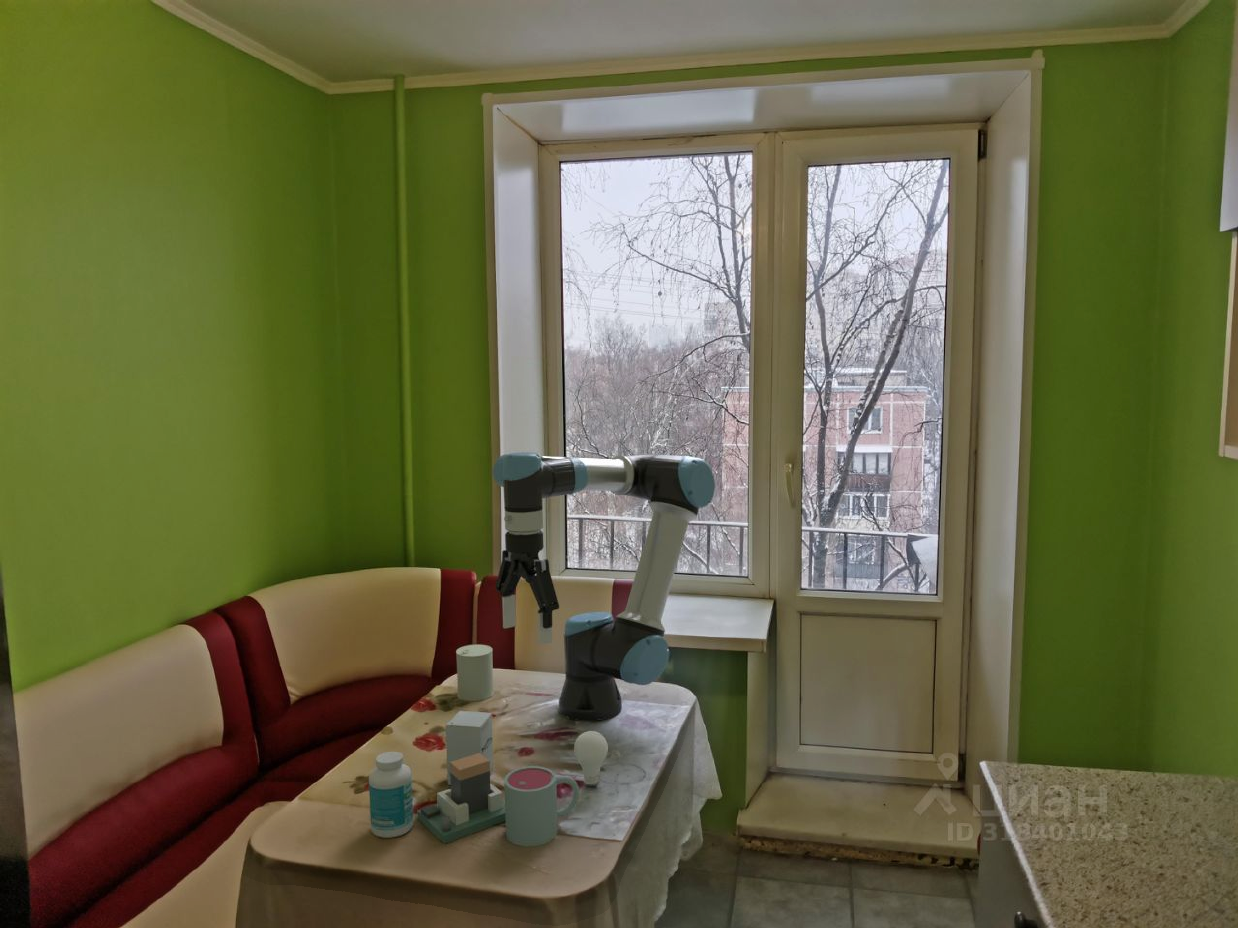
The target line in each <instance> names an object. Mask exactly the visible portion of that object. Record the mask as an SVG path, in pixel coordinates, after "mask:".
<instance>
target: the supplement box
mask: <svg viewBox="0 0 1238 928" xmlns="http://www.w3.org/2000/svg"><path fill="white" fill-rule="evenodd" d="M445 738H446V739H445V740H446V741H445V745H446V771H447V772H446V775H447V776H446V777H447V785H448V786H451V775H450V762H452V761H455V760H458V759H462V758H465V757H468V756H471V755H474V754H478V753H480V754H482V755H483V756H484V757H485V758H487V759H488V760H489V761H490V775H491V774H492V773H493V772H494V744H493V742H494V741H493V739H494V738H493V713H492V712H484V711H483V712H482V711H466V710H465V711H464V710H459V711H458V712H457V713H456V714H455V715H454V716H453V717H452V718H451V719H450V720H449V721H448V722H447V723H446V724H445Z"/></svg>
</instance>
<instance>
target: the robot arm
mask: <svg viewBox="0 0 1238 928" xmlns="http://www.w3.org/2000/svg"><path fill="white" fill-rule="evenodd" d="M712 470H713V469H712V467H710V465H709V463H707V462H706V460H704V459H702V458H700V457H695V456H694V457H693V456H690V455H675V454H674V455H673V454H660V453H645V454H633V455H632V454H631V455H616V456H613V457H612V458H610V459H609V458H595V457H594V458H591V457H590V458H589V457H578V456H577V457H576V456H573V457H571V456H569V457H568V456H548V455H541V454H540V453H538V452H531V451H530V452H529V451H527V452H526V451H525V452H524V451H522V452H511V453H506V454H505V453H504V454H503V455H500V456H499V457H498V458H497V459H496V461H495V462H494V463H493V469H492V475H493V478H494V479H493V480H494V481H495V483H496V484H497V485H498V486H500V487H502V488H503V500H504V501H503V502H504V507H503V508H504V518H503V520H504V527H505V528H504V529H505V530H506V532H505V534H504V540H505V547H504V548H505V549H503V550H502V551H501V553H502V554H501V555H502V556H501V563H500V566H499V567H500V568H499V571H498V576H497V580H496V583H495V591H496V592H499V595H500V596H501V603H502V606H501V607H502V628H503V629H509V628H513V627H517V608H516V606H517V604H516V598H517V597H516V595H515V594H516V591H515V589H516V588H517V585H518V583H519V582H520V580H521V578H522V579H524V580H525V582H526V583H528V584H529V586H530V588H531V589H530V590H531V592H532V593H533V596H534V598H535V601H536V604H537V606H538V607H539V609H538V611H537V630H538V631H537V633H538V634H537V635H538V636H537V639H538V645H539V646H542V645H546V644H550V643H553V611H555V610H559V609H560V604H559V603H560V602H559V600H558V597H557V594H556V593H557V592H556V589H555V586H554V582H553V579H552V574H551V572H550V563H549V559H548V558H547V559H540V556H539V553H540V552H541V551H543V549H544V532H543V531H542V529H543V528H544V515H543V511H544V509H543V507H544V505H543V502H544V501H543V500H544V499H546V498H552V497H557V496H559V497H561V496H565V495H567V496H568V495H569V496H570V495H573V494H576V493H580V492H582V491H591V492H592V491H598V492H599V491H603V492H604V491H605V492H610V493H612V494H614V495H617V496H626V497H627V496H629V497H633V498H638V499H642V500H645V501H649V505H648V506H650V509H651V510H652V517H651V520H650V523H649V527H648V530H647V534H646V537H645V541H644V545H643V548H642V551H641V554H640V555H641V556H640V558H639V562H638V564H637V565H638V566H637V569H636V571H635V576H634V579H633V582H632V584H631V585H632V586H631V589H630V593H629V595H628V600H627V604H626V606H625V609H624V611H622V612H621V613H619V614H617V615H616V618H615V619H614V617H613V614H612V613H610V612H606V611H594V612H592V611H591V612H585V613H580V614H576V615H573V616H571V617H569V618H568V619H566V620H565V623H564V634H563V639H564V640H563V641H564V664H565V665H564V666H565V667H564V669H565V672H564V673H565V678H564V679H565V680H564V682H563V686H562V690H561V692H560V697H559V699H558V711H559V713H560V714H561V715H562V716H563V717H566V718H568V719H571V720H575V721H581V722H583V721H584V722H592V721H601V720H606V719H610V718H612V717H613V718H614V716H617V715H618V714H619V713H620V712H621V710H622V704H623V703H622V696H621V693H620V691H619V687H618V685H617V681H616V679H618V680H621V681H623V682H625V683H628V684H633V685H634V684H635V685H638V686H647V685H650V684H652V683H654V681H655V680H658V679H659V677H660V676H661V675H662V674H663V673H664V671H665V668H667V667H666V666H667V664H668V662H669V658H670V650H669V643H668V641H667V640H666V639H665V638H664V636H665V632H666V629H665V627H664V626H663V623H662V618H663V614H664V611H665V608H666V605H667V600H668V597H669V593H670V589H671V586H672V582H673V579H674V575H675V572H676V568H677V564H678V561H679V558H680V554H681V550H682V547H683V543H684V539H685V536H686V532H687V529H688V525H689V523H690V522H692V521H693V520H695V519H697V517H698V514H699V510H700V509H703V508H705V507H707V506H708V505H709V504H711V501H712V500H713V498H714V494H715V487H716V485H715V484H716V483H715V476H714V474H713V471H712Z"/></svg>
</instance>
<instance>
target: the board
mask: <svg viewBox="0 0 1238 928" xmlns="http://www.w3.org/2000/svg"><path fill="white" fill-rule="evenodd" d="M490 788H491V794H488V808H487V809H484V810H481V811H479V812H476V813H473V814H470V815H469V809H468V804H467V803H463V804H460V805H457V804H456V803H455V802H454V801H453V800H451V788H448V789H444V790H442V791H439V792H437V793H436V800H437V801H436V802H437V803H435V804H434V803H431V804H428V805H425V806H423V807H420V809H417V810H416V812H417V813H416V814H417V815H416V817H417V819H418V820H419V821H420V822H421V823H422V824H423V825H424V826H425V827H426V828H427V829H428V830H429V831H430V832H431V833H432V834H434V836H436V837H437V839H438V840H440V842H441V843H443V844H444V845H445V844H448V843H450V842H451V843H452V842H453V841H456V840H459V839H461V838H463V837H465V836H469V835H471V834H474V833H477V832H479V831H482V830H484V829H487V828H489V827H492V826H495V825H497V824H500V823H503V822H506V820H505V800H504V799H503V798H504V797H503V796H504V795H503V792H502V791H501V790H500V789H498V787H496V786H495V785H494V784H492V783H491V782H490Z"/></svg>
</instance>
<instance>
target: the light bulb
mask: <svg viewBox="0 0 1238 928" xmlns="http://www.w3.org/2000/svg"><path fill="white" fill-rule="evenodd" d="M573 746H574V747H573V752H574V755H575V756H574V757H575V758H576V759H577V761H578V762H579V764H580V766H581V769H582V775H584V776H583V783H584V784H585V785H586V786H588V787H595V786H597V785H598V784H599V783H600V776H599V775H600V773H601V767H602V764H603V762H604V761H605V759H606V757H607V755H608V750H609V746H608V742H607V739H606V738H605V736H603V734H601V733H600V732H598V731H594V730H588V731H585V732H582V733H580V734H579V736H578V737H577V738H576V740H575V742H574V745H573Z"/></svg>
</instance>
